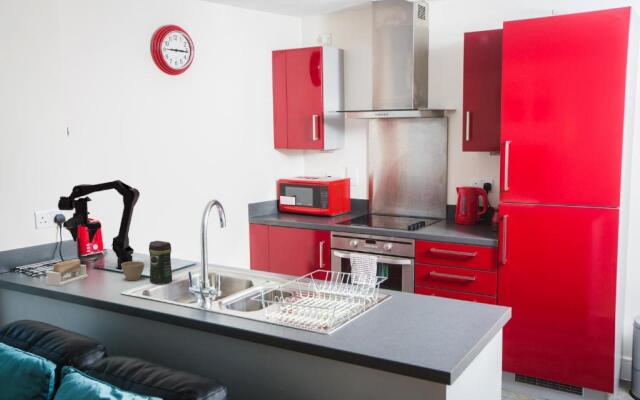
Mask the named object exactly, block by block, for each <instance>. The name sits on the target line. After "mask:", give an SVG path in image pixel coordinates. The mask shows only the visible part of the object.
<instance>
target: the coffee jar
mask: <svg viewBox="0 0 640 400" xmlns="http://www.w3.org/2000/svg"><path fill="white" fill-rule="evenodd" d="M171 245H172V244H171V243H170V242H169V241H162V240H154V241H150V242H149V245H148V252H149V260H150V261H149V263H150V264H149V266H150V267H149V281H150V283H152V284H156V285H163V284H164V285H165V284H166V285H167V284H169V283H171V282H173V273H172V272H173V271H172V270H173V269H172V262H171V253H172V246H171Z"/></svg>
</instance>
